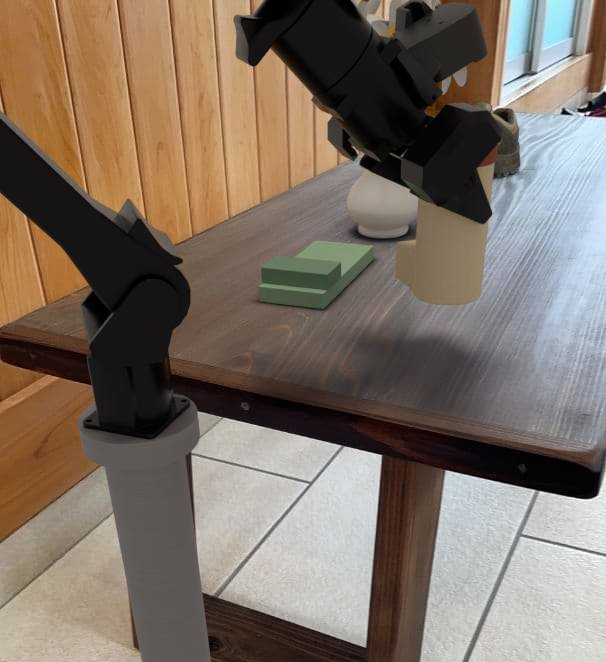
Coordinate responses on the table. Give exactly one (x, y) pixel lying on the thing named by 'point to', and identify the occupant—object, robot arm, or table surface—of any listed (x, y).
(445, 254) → the brown-capped cream cylinder
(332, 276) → the green stepped slab
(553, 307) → the table surface
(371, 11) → the flower vase
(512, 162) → the hiking shoe
